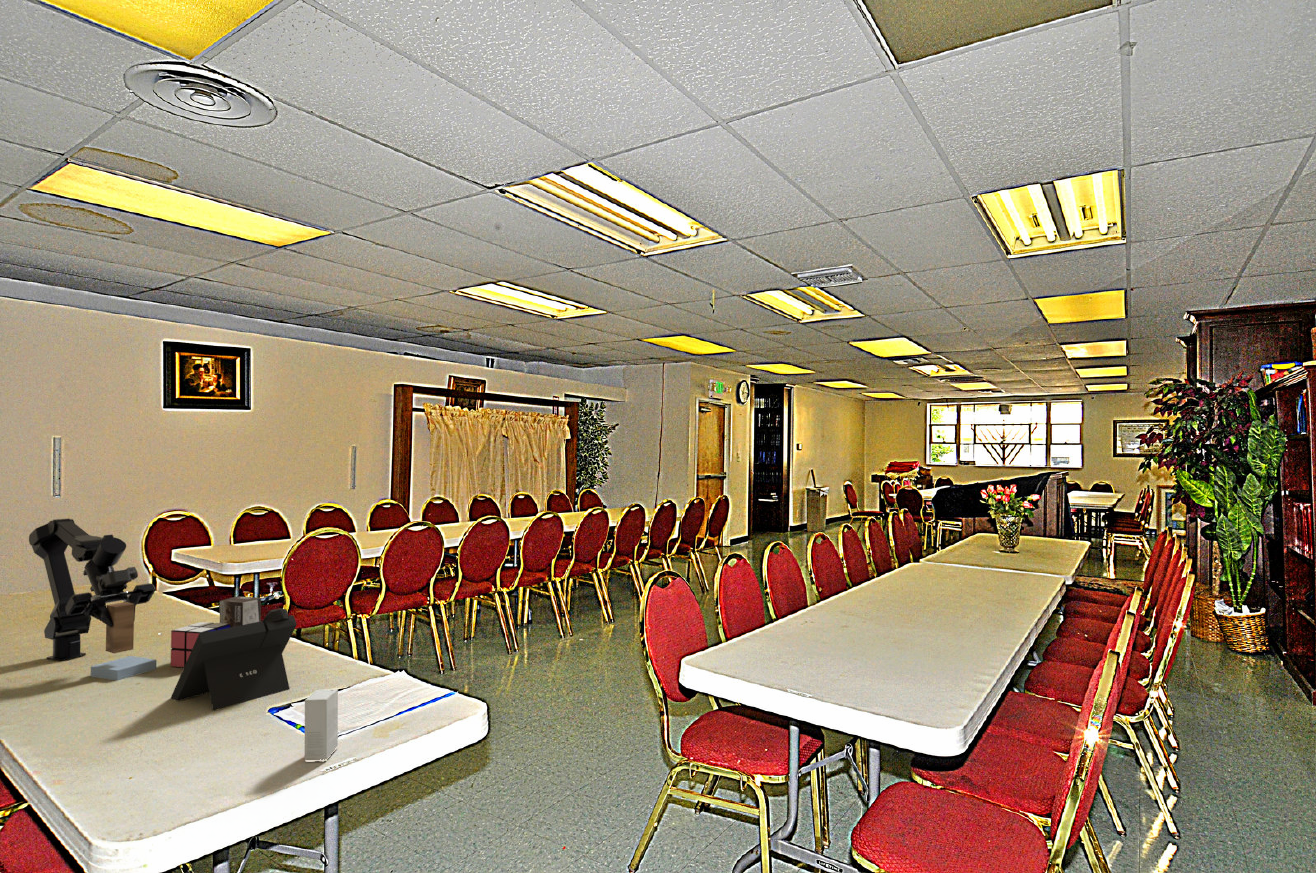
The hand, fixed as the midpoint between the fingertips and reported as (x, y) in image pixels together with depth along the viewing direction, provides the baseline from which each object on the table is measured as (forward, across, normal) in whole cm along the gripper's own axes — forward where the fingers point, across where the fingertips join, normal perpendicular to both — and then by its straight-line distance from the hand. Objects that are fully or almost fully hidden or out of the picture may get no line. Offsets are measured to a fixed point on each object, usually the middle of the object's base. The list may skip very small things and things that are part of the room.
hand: (122, 624), depth 185 cm
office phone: (+34, +12, -15) cm, 38 cm away
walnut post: (+4, 0, +6) cm, 7 cm away
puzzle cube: (+14, +16, +5) cm, 22 cm away
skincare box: (+72, -5, -54) cm, 90 cm away
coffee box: (+16, +26, +3) cm, 30 cm away
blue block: (+9, +1, +11) cm, 14 cm away
